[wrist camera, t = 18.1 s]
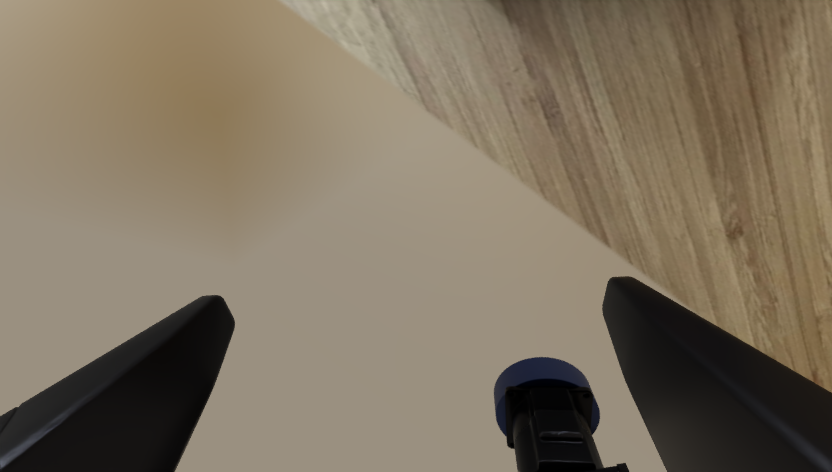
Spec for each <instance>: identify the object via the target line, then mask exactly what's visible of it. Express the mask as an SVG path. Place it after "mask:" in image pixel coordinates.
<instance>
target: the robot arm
mask: <svg viewBox="0 0 832 472" xmlns="http://www.w3.org/2000/svg"><path fill="white" fill-rule="evenodd" d="M602 309H603V316H604V319H605V322H606V325H607V328H608V331H609V334H610V337H611V340H612V343H613V346H614V349H615V352H616V355H617V358H618V361H619V364H620V367H621V370H622V373H623V375H624V378H625V381H626V383H627V385H628V388H629V390H630V392H631V395H632V397H633V399H634V401H635V403H636V405H637V407H638V410H639V412H640V414H641V416H642V418H643V420H644V423H645V425H646V427H647V429H648V431H649V433H650V435H651V438H652V440H653V442H654V444H655V446H656V449H657V451H658V453H659V455H660V457H661V459H662V461H663V464H664V466H665V468H666V470H667V472H832V393H831V392H829V391H827V390H826V389H824V388H822V387H821V386H819V385H817V384H815V383H814V382H812V381H810V380H809V379H807V378H805V377H803V376H802V375H800V374H798V373H797V372H795V371H793V370H791V369H790V368H788V367H786V366H784V365H783V364H781V363H779V362H778V361H776V360H774V359H772V358H771V357H769V356H767V355H766V354H764V353H762V352H760V351H759V350H757V349H755V348H754V347H752V346H750V345H748V344H747V343H745V342H743V341H741V340H740V339H738V338H736V337H735V336H733V335H731V334H729V333H728V332H726V331H724V330H723V329H721V328H719V327H717V326H716V325H714V324H712V323H711V322H709V321H707V320H705V319H704V318H702V317H700V316H698V315H697V314H695V313H693V312H692V311H690V310H688V309H686V308H685V307H683V306H681V305H679V304H678V303H676V302H674V301H673V300H671V299H669V298H668V297H666V296H664V295H662V294H661V293H659V292H657V291H655V290H654V289H652V288H650V287H649V286H647V285H645V284H643V283H642V282H640V281H638V280H637V279H635V278H633V277H629V276H625V277H612V278H610V280H609V281H608V284H607V288H606V293H605V297H604V301H603V308H602ZM234 327H235V321H234V318H233V316H232V314H231V312H230V310H229V308H228V306H227V304H226V302H225V301H224V299H223V298H222V297H221V296H218V295H211V296H202V297H200V298H198V299H197V300H195V301H193V302H192V303H190V304H188V305H186V306H185V307H183V308H181V309H180V310H178V311H176V312H175V313H173V314H171V315H170V316H168V317H166V318H165V319H163V320H161V321H160V322H158V323H156V324H154V325H153V326H151V327H149V328H148V329H146V330H145V331H143V332H141V333H139V334H138V335H136V336H134V337H133V338H131V339H130V340H128V341H126V342H124V343H123V344H121V345H119V346H118V347H116V348H114V349H113V350H111V351H109V352H108V353H106V354H104V355H103V356H101V357H99V358H97V359H96V360H94V361H93V362H91V363H89V364H88V365H86V366H84V367H83V368H81V369H79V370H77V371H76V372H74V373H72V374H71V375H69V376H67V377H66V378H64V379H62V380H61V381H59V382H57V383H56V384H54V385H52V386H51V387H49V388H47V389H46V390H44V391H42V392H40V393H39V394H37V395H35V396H34V397H32V398H30V399H29V400H27V401H25V402H24V403H22V404H21V405H20V406H19V407H15V408H14V409H12V410H10V411H8V412H7V413H6V414H3V415H2V416H0V472H175V470H176V468H177V466H178V464H179V462H180V459H181V457H182V455H183V453H184V451H185V448H186V446H187V444H188V442H189V440H190V438H191V436H192V433H193V431H194V429H195V427H196V425H197V423H198V420H199V418H200V416H201V414H202V412H203V409H204V407H205V405H206V403H207V401H208V399H209V397H210V394H211V392H212V389H213V387H214V385H215V382H216V380H217V377H218V374H219V371H220V368H221V365H222V363H223V360H224V357H225V354H226V351H227V348H228V345H229V342H230V340H231V337H232V334H233V331H234ZM511 392H512V393H511ZM585 393H587V394H585ZM592 405H593V393H592V391H591V389H590V388H588V387H562V386H508V387H506V388H505V415H506V439H507V446H508V447H509V448H511V449H515V454H516V461H517V469H518V472H629V470H628V468H627V465H626V463H623V464H617V466H613V467H607V468H604V467H603V465H602V462H601V459H600V456H599V453H598V451H597V448H596V445H595V442H594V440H593V437H592V434H591V418H592Z"/></svg>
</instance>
